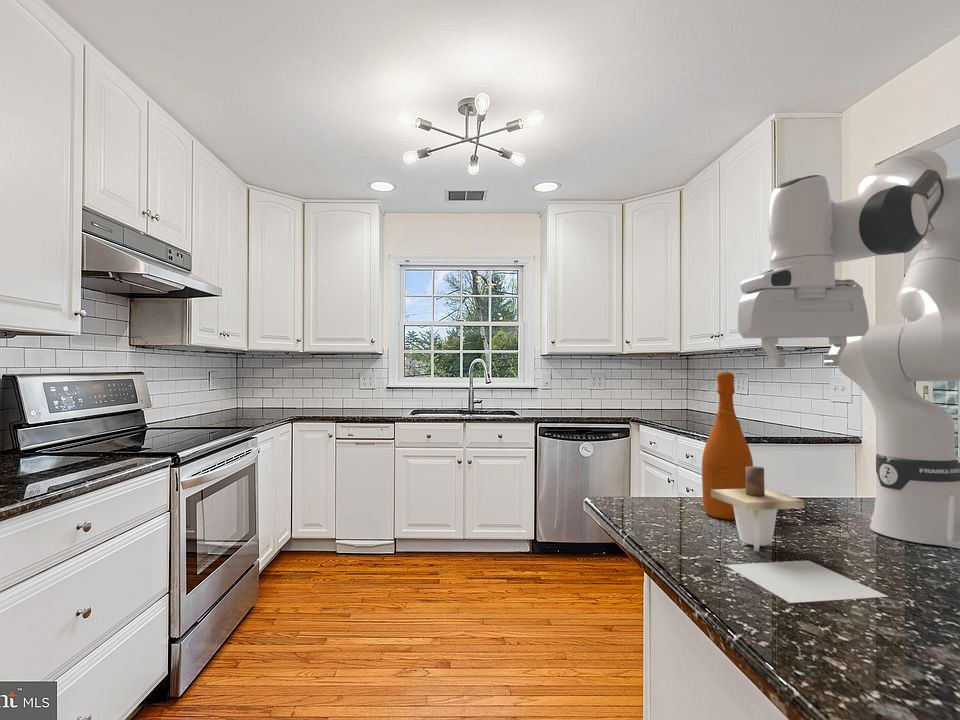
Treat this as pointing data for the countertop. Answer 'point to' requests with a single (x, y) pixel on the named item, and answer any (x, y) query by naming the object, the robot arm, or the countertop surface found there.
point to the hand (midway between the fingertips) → (804, 366)
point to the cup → (755, 526)
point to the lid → (756, 494)
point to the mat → (804, 581)
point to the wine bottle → (724, 453)
